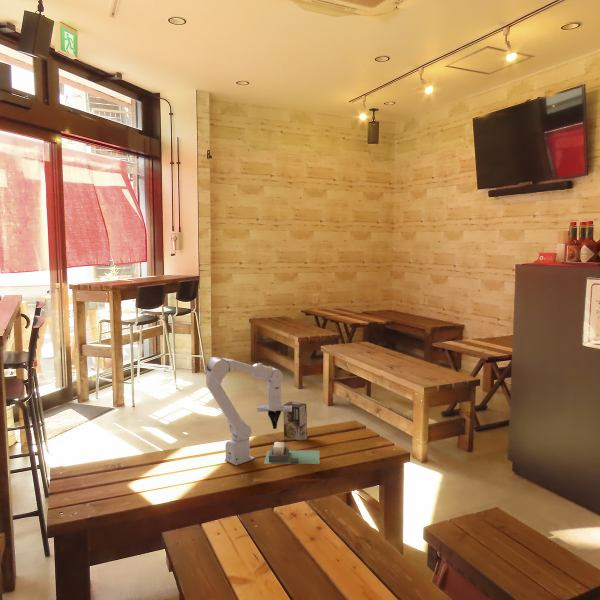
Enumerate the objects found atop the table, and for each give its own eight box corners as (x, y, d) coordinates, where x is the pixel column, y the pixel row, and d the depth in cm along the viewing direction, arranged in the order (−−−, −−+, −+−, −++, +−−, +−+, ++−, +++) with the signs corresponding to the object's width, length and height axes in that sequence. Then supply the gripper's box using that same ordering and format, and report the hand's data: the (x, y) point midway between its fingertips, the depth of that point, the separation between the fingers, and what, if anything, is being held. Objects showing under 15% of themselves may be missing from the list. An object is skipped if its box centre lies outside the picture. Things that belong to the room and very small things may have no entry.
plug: (275, 453, 206) (274, 441, 206) (284, 453, 206) (284, 442, 205) (273, 460, 199) (272, 448, 199) (283, 460, 199) (282, 448, 198)
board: (263, 466, 196) (263, 457, 195) (267, 452, 210) (267, 444, 209) (319, 466, 195) (319, 457, 195) (319, 452, 209) (319, 444, 209)
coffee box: (307, 438, 226) (307, 403, 225) (300, 442, 221) (299, 407, 220) (291, 434, 231) (290, 401, 230) (283, 439, 226) (282, 404, 225)
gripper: (256, 399, 205) (256, 431, 206) (290, 399, 204) (291, 431, 205) (258, 394, 212) (258, 425, 213) (291, 394, 211) (292, 425, 212)
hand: (274, 428), depth 210 cm, fingers closed
